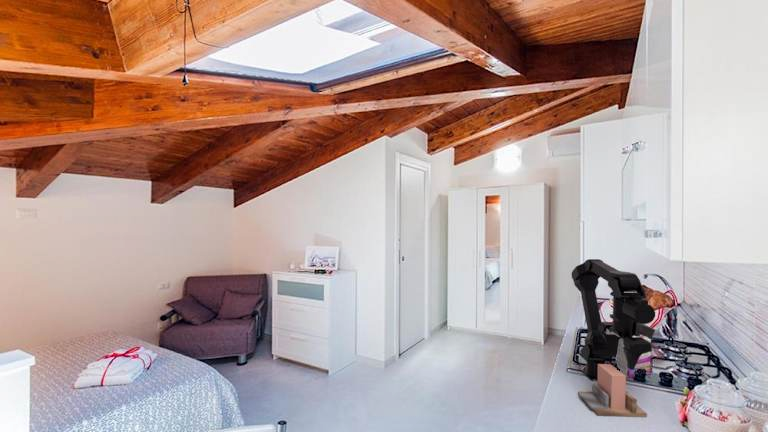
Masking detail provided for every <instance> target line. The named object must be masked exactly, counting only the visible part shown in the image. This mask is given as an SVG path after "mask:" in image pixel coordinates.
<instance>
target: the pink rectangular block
mask: <svg viewBox="0 0 768 432" xmlns="http://www.w3.org/2000/svg"><path fill="white" fill-rule="evenodd" d="M596 381H597V383H596V384H597V385H598V386H599V387H600V388H601V389H602V390H603V391H604V392H605V393H606V394H607V395H608V396H609V405H608V406H609V407H610V408H611V409H625V392H626V391H627V390H626V385H627V383H626V382H627V377H626V376H625V375H624V374H623V373H621V372H620V371H619V370H617V367H615V366H614V365H612V364H611V363H608V364H607V363H605V364H598V379H597V380H596Z"/></svg>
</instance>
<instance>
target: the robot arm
mask: <svg viewBox="0 0 768 432" xmlns="http://www.w3.org/2000/svg"><path fill="white" fill-rule="evenodd" d="M571 278H572V280H573V284H574V286H575V287H576V288H577V290H578V291H579V292H580V295H581V301H582V306H583V311H584V318H585V323H586V328H587V334H586V336H585V337H584V345H583V346H582V347H581V349H580V350H579V352H580V357H581V358H582V359H583V360H584V361H586V370H582V372H581V373H582V374H584V376H586V377H587V378H588V379H589V380H590V381H597V379H598V364H606V363H607V362H608V363H613V362H612V361H613V358H617V350H618V343H619V339H620V338H622V339H624V340H623V344H624V347H623V350H624V353H625V356H626V360H627V363H628V366H629V369H630V370H634V368H635V366H636V364H637V362H638V359H639V358H640V356H641V355H642V354H643V353H648V352H653V344H651V343H650V342H649V341H647V340H645V339H643V338H642V337H633V336H640V335H643V336H646V337H648V338H649V339H652V340H653V337H654V334H655V332H656V329H655V328H653V327H651V326H648V324H651V323H652V322H653V321H654V320H655V317H656V311H655V309H654V308H653V307H652V305H650V304H649V300H648V299H647V295H646V294H647V293H646V290H645V289H644V286H643V285H642V282H641V280H640V278H639V277H638V275H637V274H636V273H633V272H629V271H623V270H618V269H616V268H615V267H612V265H609V264H608V263H606V262H604V261H603V259H598V258H595V259H592V258H590V259H586V260H585V261H584V262H583V263H581V264H579V265H577V266H575V267H574V268H573V270H572V272H571ZM600 278H601V279H603V280H605V281H606V282H607V286H608V287H609V288H610V289H611V292H610V293H609V295H610V296H612V313H611V314H609V318H611V319H612V321H602V318H601V314H600V309H599V308H600V307H599V303H598V297H597V293H596V290H597V287H598V285H599V283H600V281H599V279H600Z"/></svg>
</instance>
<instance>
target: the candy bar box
mask: <svg viewBox="0 0 768 432" xmlns="http://www.w3.org/2000/svg"><path fill="white" fill-rule="evenodd" d="M633 337H642V338H643V339H645V340H647V341H649V342H650V343H651V344H652V342H653V338H652V339H649V338H648V337H646V336H643V335H640V336H633ZM623 340H624V339H622V338H620V339H619V343H618V350H617V356H616V368H617V367H618V368H619V369H620V372H621V373H623V374H624V375H625V376H626V379H630V378H629V377H633V376H634V372H635V371H637V370H638V369H645V370H646V371H647V373H649V375H652V365H653V364H652V356H653V355H652V352H653V351H652V352H648V353H643V354H642V355H641V356H640V358H639V359H638V362H637V364H636V366H635V368H634V370H630V369H629V366H628V363H627V360H626V356H625V353H624V350H623V347H624V344H623ZM652 345H653V344H652ZM633 378H634V377H633Z"/></svg>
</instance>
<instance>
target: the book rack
mask: <svg viewBox="0 0 768 432" xmlns="http://www.w3.org/2000/svg"><path fill="white" fill-rule="evenodd" d="M591 385H592V386H591V391H578V392H577V395H578V396H579V398H581V400H583V402H584V403H585V404H586V405H587V406H588V407H589V409H591V411H592V412H593V414H595V415H596V416H597V417H627V418H629V417H630V418H631V417H632V418H647V417H648V413H647V412H646V411H645V410H643V408H641V407H640V406H639V405H638V404H637V403H638V402H637V401H638V400H637V399H636V398H635V397H634V396H633V395H632V394H631V393H629V392H628V391H627V390H626V392H625V409H611V408H610V407H609V406H608V405H609V396H608V395H607V394H606V393H605V392H604V391H603V390H602V389H601V388H600V387H599V386H598V385H597V383H596V382H591Z"/></svg>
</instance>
